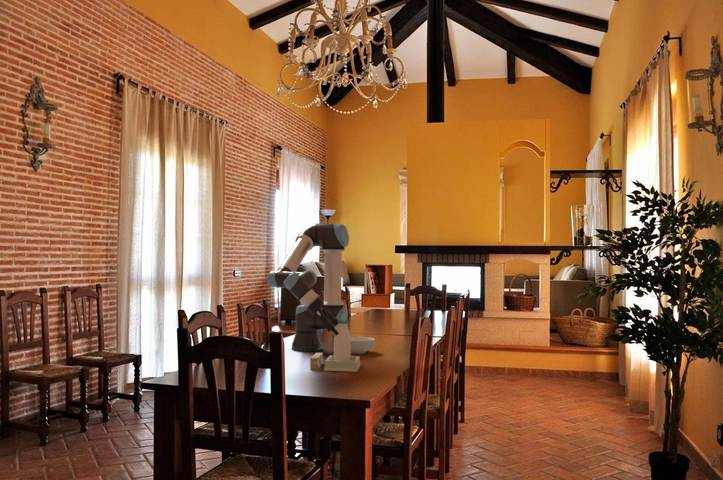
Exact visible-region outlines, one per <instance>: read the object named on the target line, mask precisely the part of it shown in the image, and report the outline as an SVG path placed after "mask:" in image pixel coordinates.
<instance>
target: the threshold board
mask: <svg viewBox="0 0 723 480" xmlns="http://www.w3.org/2000/svg"><path fill="white" fill-rule="evenodd" d="M322 365H324V352H315V354H313V355H312V356H311V357H310V369H309V370H310V371H318V370H319V369H320V368H321V366H322Z"/></svg>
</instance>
